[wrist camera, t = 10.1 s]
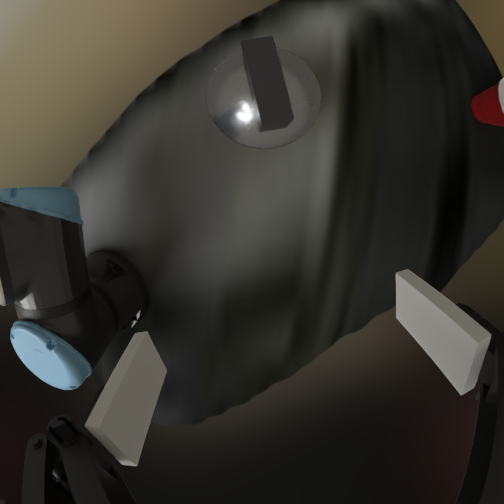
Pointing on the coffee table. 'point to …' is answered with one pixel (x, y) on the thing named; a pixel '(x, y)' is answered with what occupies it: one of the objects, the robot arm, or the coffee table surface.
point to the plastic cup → (490, 105)
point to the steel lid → (263, 95)
